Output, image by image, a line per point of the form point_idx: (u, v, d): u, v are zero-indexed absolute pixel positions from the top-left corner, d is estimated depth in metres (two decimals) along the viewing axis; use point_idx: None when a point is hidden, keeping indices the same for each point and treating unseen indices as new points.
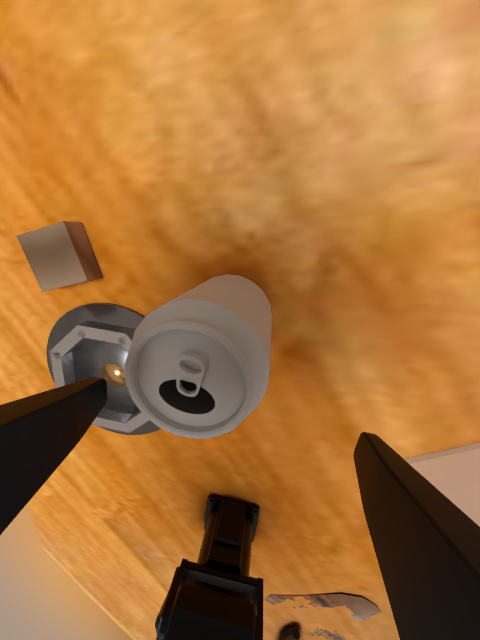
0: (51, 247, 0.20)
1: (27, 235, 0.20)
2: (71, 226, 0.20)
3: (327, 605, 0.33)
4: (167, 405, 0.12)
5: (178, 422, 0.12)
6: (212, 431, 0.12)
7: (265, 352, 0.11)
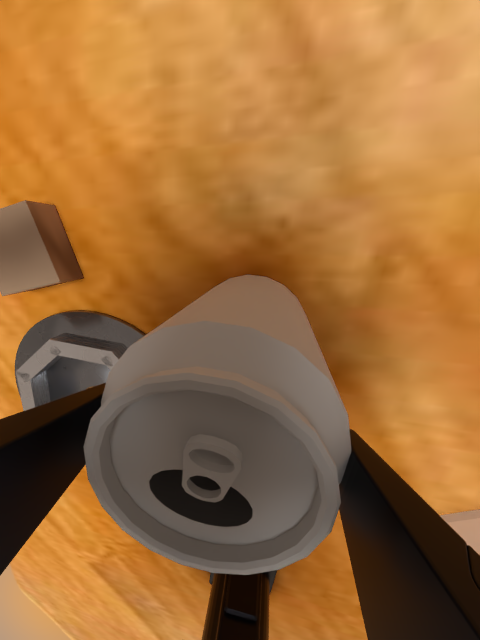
0: (11, 236, 0.15)
1: None
2: (38, 208, 0.15)
3: None
4: (164, 508, 0.07)
5: (184, 535, 0.07)
6: (247, 562, 0.06)
7: (347, 419, 0.06)
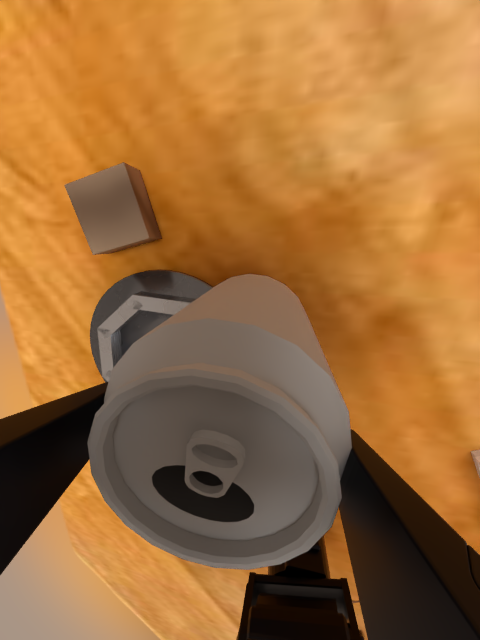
0: (107, 197, 0.17)
1: (78, 183, 0.17)
2: (131, 171, 0.17)
3: None
4: (167, 504, 0.07)
5: (186, 530, 0.07)
6: (248, 557, 0.06)
7: (347, 416, 0.06)
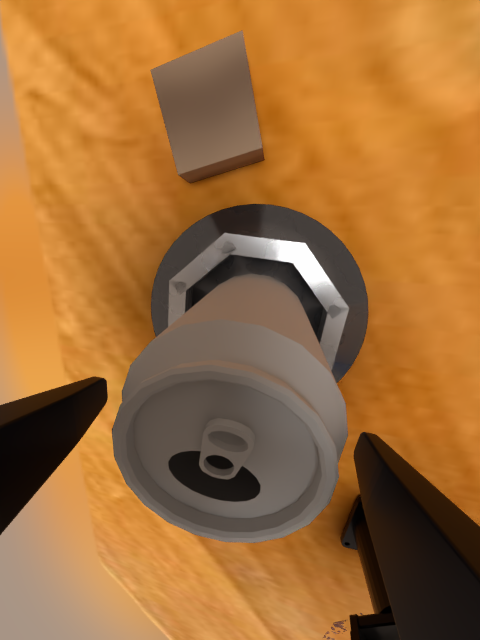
0: (210, 87, 0.12)
1: (170, 67, 0.12)
2: None
3: None
4: (181, 486, 0.07)
5: (198, 510, 0.08)
6: (254, 532, 0.07)
7: (344, 407, 0.07)
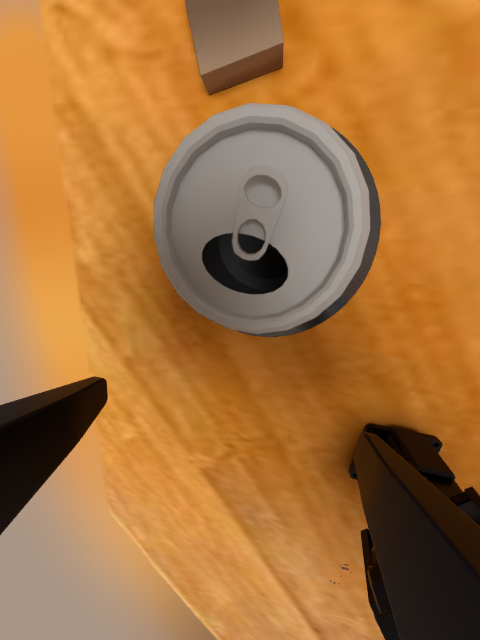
0: None
1: None
2: None
3: None
4: (213, 282, 0.08)
5: (227, 310, 0.08)
6: (282, 317, 0.08)
7: (367, 196, 0.07)
